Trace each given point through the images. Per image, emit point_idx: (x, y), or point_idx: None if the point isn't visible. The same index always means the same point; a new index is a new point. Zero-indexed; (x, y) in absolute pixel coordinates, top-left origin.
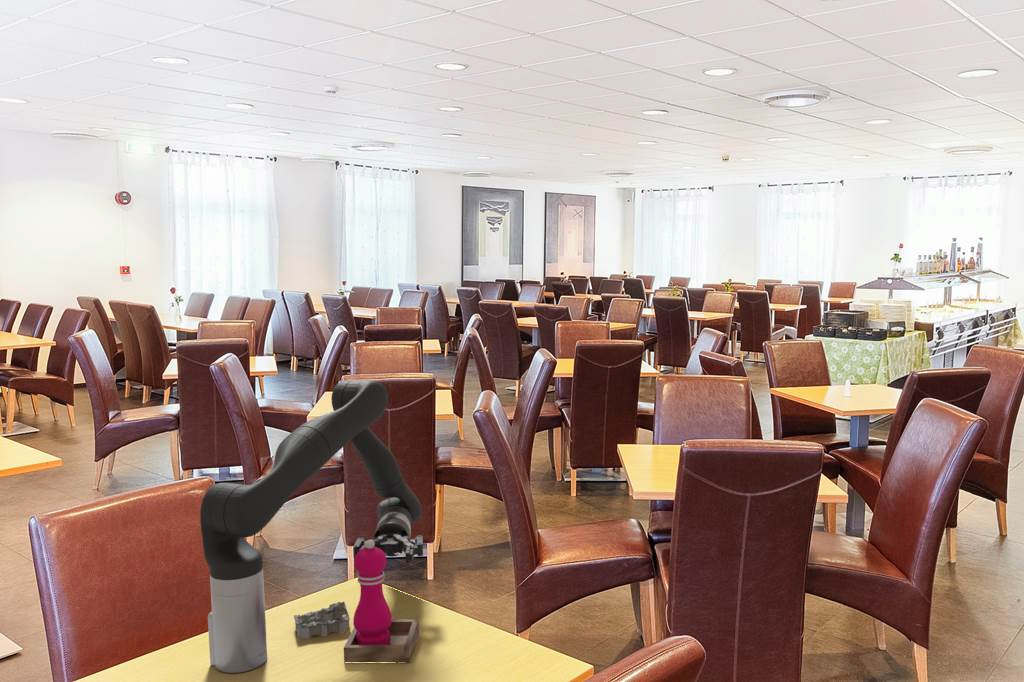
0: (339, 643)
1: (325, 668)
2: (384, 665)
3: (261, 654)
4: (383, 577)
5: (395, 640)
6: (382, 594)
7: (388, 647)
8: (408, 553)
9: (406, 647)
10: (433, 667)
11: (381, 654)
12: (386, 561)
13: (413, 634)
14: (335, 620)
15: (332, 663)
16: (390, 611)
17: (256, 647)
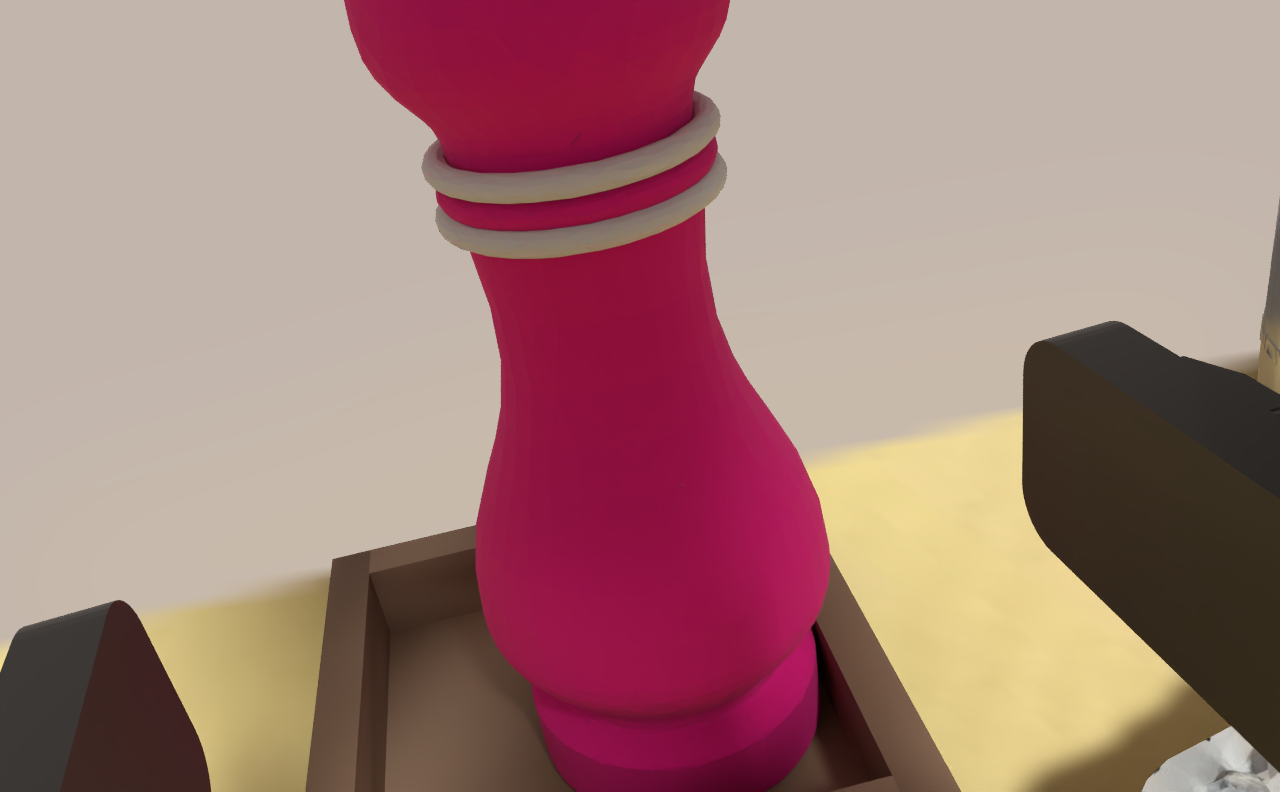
0: (1017, 730)
1: (865, 485)
2: None
3: (1271, 350)
4: (436, 193)
5: (510, 784)
6: (501, 366)
7: (475, 527)
8: (40, 626)
9: (352, 557)
10: (210, 647)
11: None
12: (351, 29)
13: (316, 702)
14: (1224, 772)
15: (861, 527)
16: (482, 565)
17: (1270, 276)
